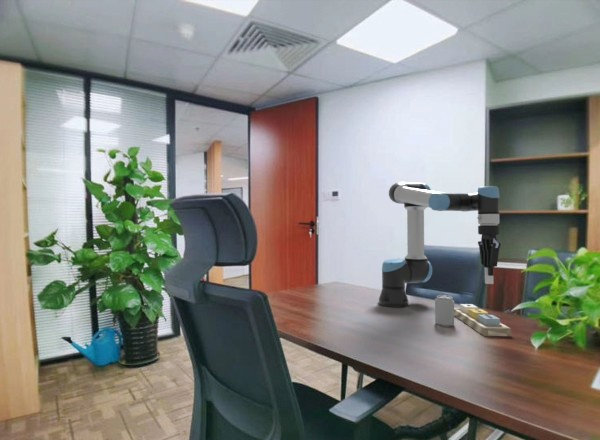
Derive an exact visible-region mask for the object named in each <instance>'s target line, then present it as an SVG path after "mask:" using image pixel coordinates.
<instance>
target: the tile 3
mask: <svg viewBox="0 0 600 440" xmlns="http://www.w3.org/2000/svg"><path fill="white" fill-rule="evenodd" d="M478 322H479V323H481V324H482V325H484V326H500V323H501V318H499V317H497V316H496V315H494V314H488V315H478Z"/></svg>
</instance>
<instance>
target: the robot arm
mask: <svg viewBox="0 0 600 440" xmlns="http://www.w3.org/2000/svg"><path fill="white" fill-rule="evenodd" d="M388 197H389V199H390V200H391V201H392V202H394V203H396V204H404V206H403V207H404V209H405V210H406V214H407V218H406V219H407V221H406V222H407V223H406V224H407V227H406V229H407V232H406V233H407V234H406V236H407V237H406V239H407V253H406V256H404V258H391V259H386V260H384V261H383V262H382V267H381V274H382V275H381V283H382V284H381V291H380V295H379V297H378V304H379V305H381V306H384V307H391V308H406V307H408V306H409V298H408V295H407V292H406V284H417V283H418V284H421V283H426V282H427V281H429V280H430V279H431V277H432V275H433V266H432V263H431V262H430V261H429V260H428V257H427V256H426V255H425V210H426V208H430V209H431V210H433V211H436V212H437V211H438V212H442V211H443V212H444V211H445V212H446V211H447V212H448V211H451V212H474V211H477V223H478V225H477V234H478V235H479V236H480V235H481V238H480V241H477V245H478V247H479V255H480V263H481V265H482V266H483V267H484V284H486V285H494V269H495V267H497V266H498V262H499V252H500V248H501V245H502V244H501V243H500V242H498V241H497V240H498V239H497V235H498V236H499V235H500V225H499V224H500V198H501V197H500V189H499V187H498V186H497V185H496V186H495V185H491V186H490V185H487V186H480V187H478V188H477V192H473V193H472V192H471V193H461V192H460V193H459V192H454V193H453V192H444V191H435V190H432V189H431V187H430V186H429V185H428V184H427V183H425V182H419V181H418V182H417V181H416V182H414V181H411V182H408V181H399V182H395V183H394V184H392V185H391V186H390V188H389V190H388Z"/></svg>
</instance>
